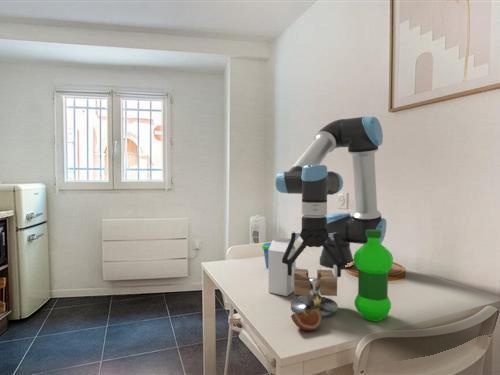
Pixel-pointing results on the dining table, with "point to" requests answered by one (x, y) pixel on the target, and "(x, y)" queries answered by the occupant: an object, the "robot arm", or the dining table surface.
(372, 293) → the plastic bottle
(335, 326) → the dining table surface
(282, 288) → the milk carton
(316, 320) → the fruit slice
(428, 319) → the dining table surface
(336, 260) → the robot arm
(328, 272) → the flange block
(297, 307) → the post base
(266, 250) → the snack cup
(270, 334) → the dining table surface
